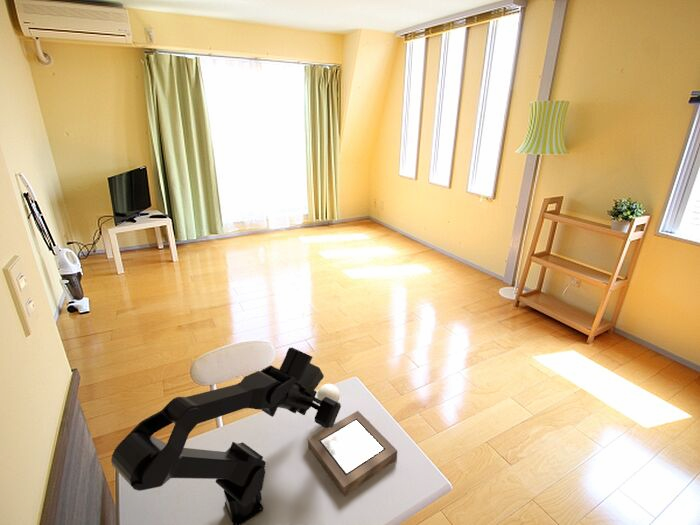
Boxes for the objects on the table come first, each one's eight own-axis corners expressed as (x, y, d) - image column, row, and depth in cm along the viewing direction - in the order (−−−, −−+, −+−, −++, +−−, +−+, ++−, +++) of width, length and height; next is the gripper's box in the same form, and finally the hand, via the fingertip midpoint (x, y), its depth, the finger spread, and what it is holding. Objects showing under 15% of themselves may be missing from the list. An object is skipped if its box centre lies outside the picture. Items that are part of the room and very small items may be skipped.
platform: (346, 479, 84) (346, 473, 84) (321, 446, 93) (320, 440, 92) (383, 454, 90) (383, 448, 90) (356, 425, 99) (356, 420, 98)
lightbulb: (341, 410, 105) (340, 379, 101) (338, 427, 99) (337, 395, 95) (320, 409, 106) (319, 378, 102) (316, 425, 100) (314, 393, 96)
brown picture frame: (344, 496, 82) (343, 487, 80) (308, 447, 94) (307, 439, 92) (396, 459, 90) (397, 450, 89) (358, 418, 102) (358, 410, 101)
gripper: (335, 377, 82) (362, 388, 94) (276, 349, 92) (307, 363, 104) (313, 427, 79) (344, 432, 91) (255, 392, 89) (290, 401, 101)
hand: (320, 404), depth 97 cm, fingers open, 9 cm apart
